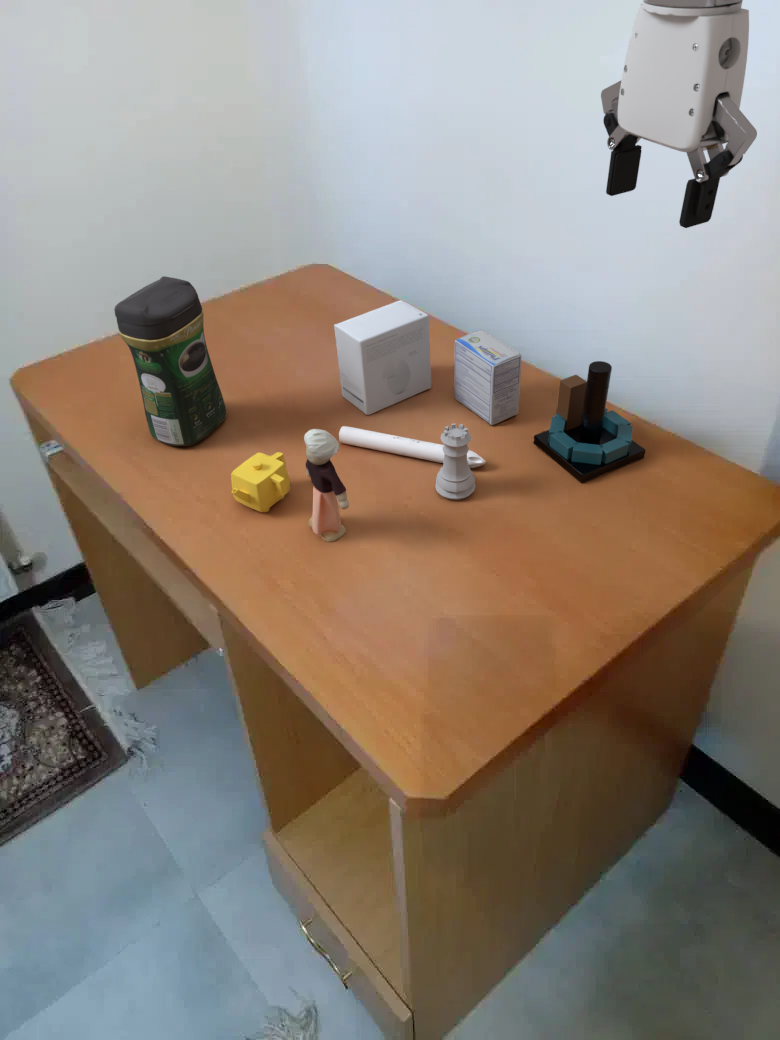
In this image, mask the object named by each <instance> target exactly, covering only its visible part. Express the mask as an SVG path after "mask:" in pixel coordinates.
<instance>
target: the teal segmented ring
mask: <svg viewBox="0 0 780 1040" xmlns="http://www.w3.org/2000/svg"><path fill="white" fill-rule="evenodd" d="M586 384H587V380H586V379H584V378H583V377H580V376H579V375H578V374H573V375H570V376H568V377H566V378H562V379H560V380H559V387H558V388H559V389H558V394H557V395H558V396H557V403H556V413H555V414H554V416H552V417H551V420H550V425H549V429H548V430H549V437H548V443H550V445H549V446H550V447H552V448H553V449H554V450H555V451H557V452H558V453H559V454H560V455H562V456H563V457H564V458H566V459H570V458H572V462H580V463H588V464H596V465H601V461H602V462H603V463H604V464H607V463H610V462H612V461H614V460H617V459H619V458H621V457H623V456H626V455H627V452H630V447H631V442H632V440H633V428H634V427H633V425H632V422H631V421H629V420H628V419H626V418H625V417H624V416H622V415H620V414H619V413H617V412H616V411H614V410H613V409H612V410H611V409H610V410H609V408H607V407H606V408H605V414H604V420H603V426H602V427H603V428H605V429H606V430H608V431H609V432H610V433H612V434H613V435H615V436H616V439H614V440H612V441H609V442H607V443H605V444H602V445H595V444H586V443H578V442H576V441H575V440H573V439H572V438H571V437H569V436H568V435H567V434H565V433H564V431H568V430H570V429H573V428H575V427H578V426H580V425H581V420H582V413H583V406H584V399H585V392H586ZM608 410H609V411H608Z"/></svg>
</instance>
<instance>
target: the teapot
mask: <svg viewBox="0 0 780 1040" xmlns="http://www.w3.org/2000/svg"><path fill="white" fill-rule="evenodd" d="M285 459H286V458H285V454H284V453H283V452H280V451H277V452H274V454H272V455H268V454H265V453H262V452H256V453H255V454H253V455H252V456H250V457H248V458H247V459H246V460H245V461H243V462H242V463H241V464H240V465H238V466H237V467H236V468H235V469H234V470H233V471H232V472H231V473H230V479H231V488H232V490H231V491H230V493H231V494H232V495H233V497H234V500H235V501H236V502H237V503H239V504H242V505H243V506H245V507H248V508H249V509H252V510H255V511H257V512H259V513H268V512H269V511H270V508H271V507H273V505H275V504H276V503H278V502H279V501H281V500H283V499H285V496H286V495H287V494H288V493H289V491H290V490H291V481H290V477H289V473H288V469H287V463H286V460H285Z"/></svg>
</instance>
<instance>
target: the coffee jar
mask: <svg viewBox="0 0 780 1040" xmlns="http://www.w3.org/2000/svg"><path fill="white" fill-rule="evenodd" d="M113 310H114V316H115V318H116V323H117V330H118V333H119V335H120V337H121V340H122V341H123V342H124V343H125V344H126V346H127V347H128V348H129V351H130V353H131V354H130V355H131V356H132V359H133V363H134V367H135V371H136V375H137V380H138V384H139V388H140V393H141V399H142V403H143V408H144V409H143V410H144V414H145V419H146V423H147V426H148V430H149V433H150V435H151V437H152V438H153V439H155V440H156V441H158V442H159V443H162V444H164V445H167V446H170V447H188V446H189V447H191V446H193V445H196V444H197V443H200V442H201V441H202V440H203V439H205V438H206V437H207V436H209V435H211V433H212V432H214V431H215V430H216V429H217V428H218V427H219V426H220V425H222V423H223V422H224V420H225V419H226V416H227V407H226V404H225V400H224V397H223V393H222V391H221V387H220V384H219V383H218V379H217V376H216V374H215V373H216V372H215V369H214V366H213V363H212V360H211V356H210V353H209V350H208V346H207V341H206V337H205V336H206V335H205V330H204V309H203V306H202V303H201V301H200V298H199V294H198V292H197V290H196V289H195V286H193V284H192V283H191V282H189V281H188V280H185V279H181V278H176V277H171V276H165V275H163V276H161V277H160V278H159V279H157V280H155V281H153V282H151V283H149V284H147V285H145V286H144V287H142V288H140V289H139V290H137V291H135V292H134V293H132V294H130V295H129V296H127V297H125V298H124V299H123V300H121V301H119V302H118V303H117V304H116V305H115V306H114V309H113Z"/></svg>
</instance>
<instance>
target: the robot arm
mask: <svg viewBox="0 0 780 1040" xmlns="http://www.w3.org/2000/svg"><path fill="white" fill-rule="evenodd" d="M742 5H743V0H642V3H640V4H639V6H638V10H637V12H636V15H635V19H634V23H633V26H632V30H631V33H630V38H629V42H628V46H627V50H626V55H625V59H624V64H623V69H622V75H621V79H620V80H619V81H616V82H615V83H613V84H611V85H609V86H608V87H606V88H604V89H602V90H601V93H600V99H601V105H602V110H603V114H604V116H603V120H602V121H603V125H604V128H605V130H606V133H607V135H608V137H607V141H606V146H607V148H608V149H609V150H611V151H610V159H609V165H608V174H607V181H606V190H605V194H606V195H608V196H610V197H613V196H617V195H621V194H625V193H629V192H632V191H634V190H636V188H637V183H638V176H639V170H640V165H641V158H642V148H643V146H642V145H639V144H637V143H639V141H640V140H641V139H643V140H645V141H648V142H651V143H653V144H657V145H660V146H662V147H666V148H669V149H670V150H675V151H678V152H682V153H686V156H687V158H688V163H689V164H690V167H691V171H692V174H693V177H694V178H691V179H688V180H687V182H686V186H685V189H684V195H683V201H682V207H681V211H680V217H679V221H678V223H679V226H680V227H682V228H684V229H688V228H691V227H694V226H695V227H696V226H698V225H702V224H706V223H709V222H710V221H711V219H712V215H713V211H714V207H715V203H716V198H717V194H718V189H719V186H720V180H721V178H723V177H726V176H727V175H729V172H730V171H731V170H732V169H734V168H735V167H736V166H738V165H739V164H740V163H741V162H742V160H743V157H744V155H745V154H746V153H747V152H748V150H749V149H750V147H751V146H752V145H753V143H754V141H755V140H756V139H757V135H758V131H757V129H756V128H755V126H754V125H753V124H752V123H751V122H750V120H749V119H748V118H747V117H746V115H745V114H744V113H743V112H742V111H741V109H740V107H741V102H742V96H743V90H744V84H745V78H746V69H747V62H748V53H749V51H748V50H749V39H750V38H749V37H750V36H749V35H750V10H749V9H746V8H742ZM724 144H725V148H724V146H723V145H724ZM705 151H706V152H707V155H708V157H709V161H707V159H706V156H705V153H704V152H705Z"/></svg>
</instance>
